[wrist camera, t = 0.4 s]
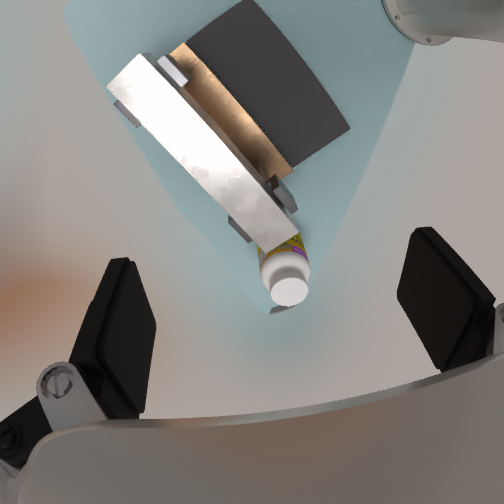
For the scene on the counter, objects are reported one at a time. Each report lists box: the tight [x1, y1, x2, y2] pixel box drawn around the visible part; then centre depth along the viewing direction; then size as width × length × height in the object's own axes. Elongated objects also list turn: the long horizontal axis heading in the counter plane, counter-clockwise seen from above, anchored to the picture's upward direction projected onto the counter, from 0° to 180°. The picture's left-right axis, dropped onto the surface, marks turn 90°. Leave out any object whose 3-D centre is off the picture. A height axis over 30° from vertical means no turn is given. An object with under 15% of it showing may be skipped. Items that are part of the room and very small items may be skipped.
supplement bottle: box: [257, 230, 311, 306], centre depth 44 cm, size 7×7×13 cm
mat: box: [186, 0, 350, 167], centre depth 35 cm, size 10×22×1 cm, turn 38°
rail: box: [106, 53, 299, 253], centre depth 28 cm, size 4×22×4 cm, turn 38°
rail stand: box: [113, 43, 298, 243], centre depth 33 cm, size 8×22×14 cm, turn 38°
